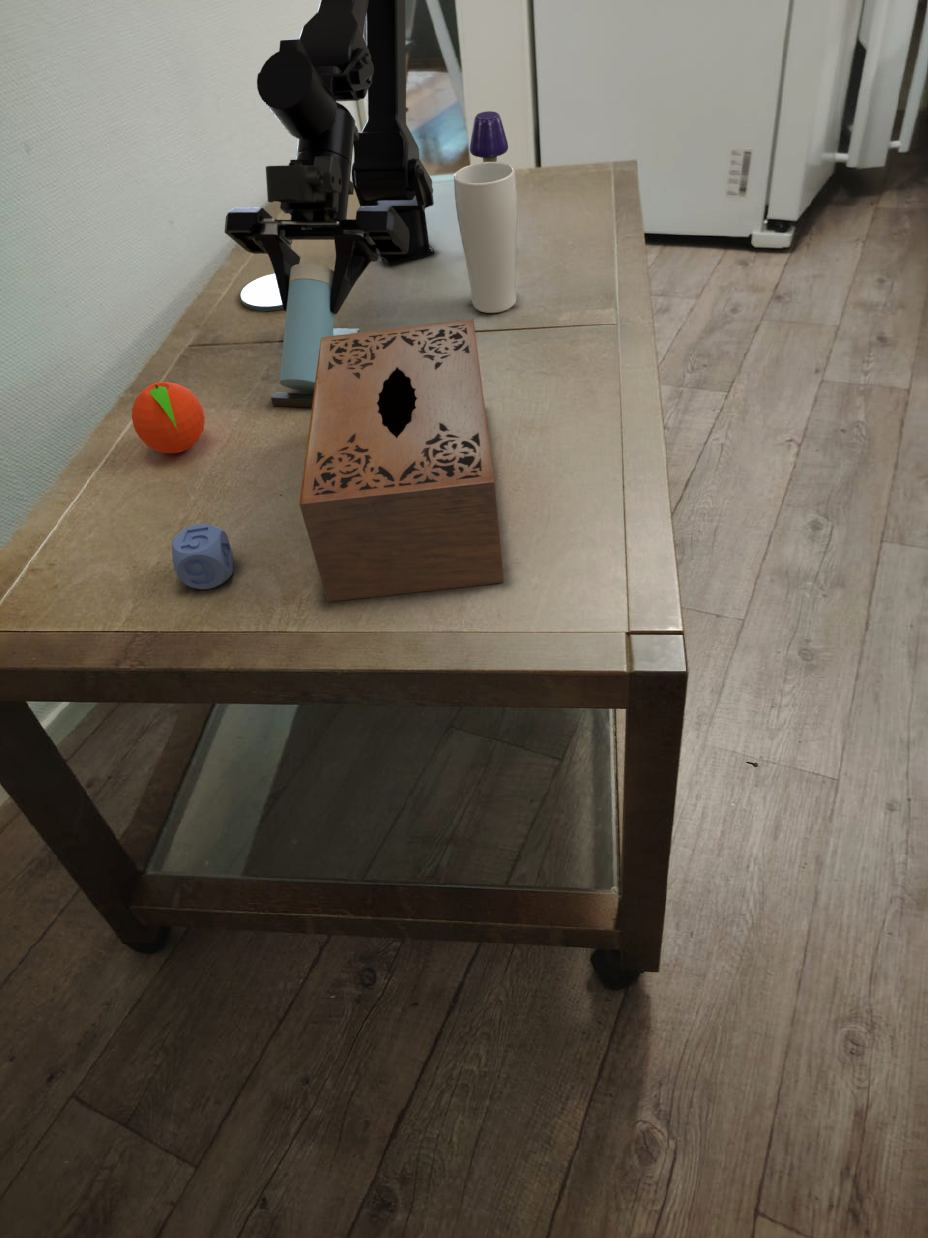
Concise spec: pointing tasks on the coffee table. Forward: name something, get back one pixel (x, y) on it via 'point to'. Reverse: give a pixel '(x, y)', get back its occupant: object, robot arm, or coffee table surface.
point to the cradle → (303, 398)
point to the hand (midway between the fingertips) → (310, 312)
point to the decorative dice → (202, 556)
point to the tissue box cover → (400, 464)
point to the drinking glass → (488, 232)
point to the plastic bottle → (306, 324)
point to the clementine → (168, 417)
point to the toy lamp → (488, 137)
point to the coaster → (262, 294)
